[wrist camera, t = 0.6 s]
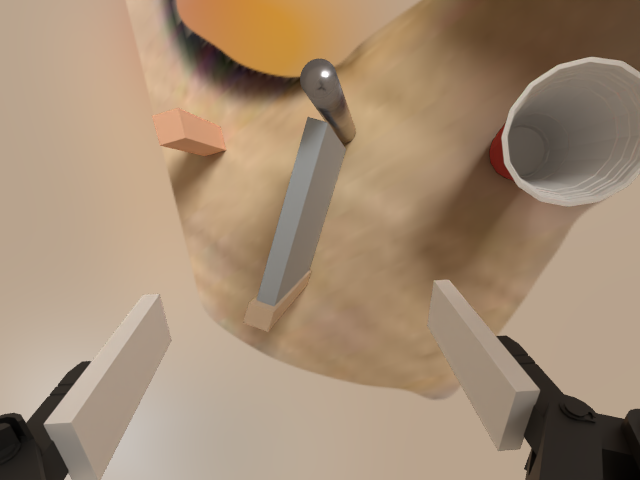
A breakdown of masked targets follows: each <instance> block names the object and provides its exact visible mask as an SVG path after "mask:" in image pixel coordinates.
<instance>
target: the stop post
mask: <svg viewBox="0 0 640 480" xmlns="http://www.w3.org/2000/svg"><path fill="white" fill-rule="evenodd" d="M152 118H153V121H154V125H155V129H156V133H157V136H158V140H159V144H160V146H164V147H169V148H173V149H177V150H181V151H185V152H190V153H194V154H198V155H202V156H208V155H211V154H215V153H218V152H222V151H225V150H226V148H225V144H224V139H223V135H222V131H221V127H220V126H218V125H215V124H213V123H211V122H209V121H206V120H204V119H202V118H200V117H197V116H195V115H193V114H191V113H189V112H186V111H184V110H182V109H180V108H175V109H172V110H169V111H166V112H163V113H160V114H157V115H154V116H152Z"/></svg>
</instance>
